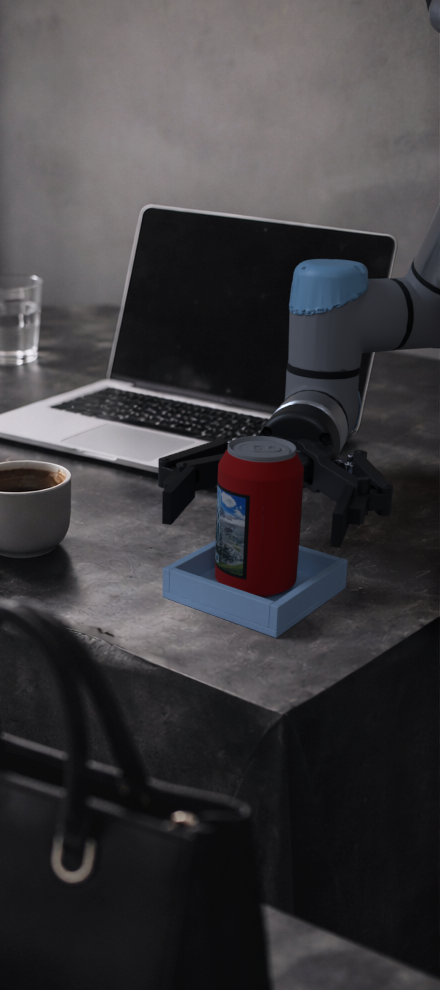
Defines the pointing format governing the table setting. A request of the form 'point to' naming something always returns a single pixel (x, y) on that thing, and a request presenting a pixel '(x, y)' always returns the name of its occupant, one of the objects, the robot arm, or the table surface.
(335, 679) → the table surface
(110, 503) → the table surface
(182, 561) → the tray
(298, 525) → the beverage can
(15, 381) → the table surface
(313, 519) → the table surface
